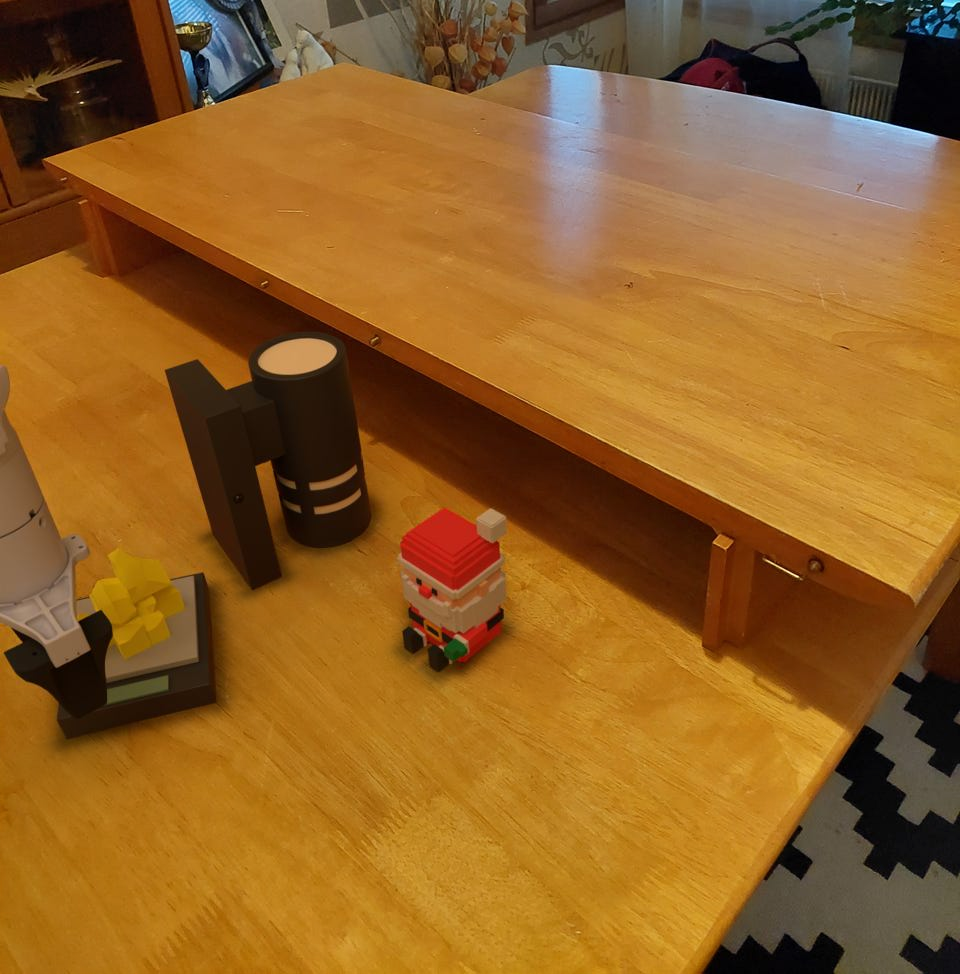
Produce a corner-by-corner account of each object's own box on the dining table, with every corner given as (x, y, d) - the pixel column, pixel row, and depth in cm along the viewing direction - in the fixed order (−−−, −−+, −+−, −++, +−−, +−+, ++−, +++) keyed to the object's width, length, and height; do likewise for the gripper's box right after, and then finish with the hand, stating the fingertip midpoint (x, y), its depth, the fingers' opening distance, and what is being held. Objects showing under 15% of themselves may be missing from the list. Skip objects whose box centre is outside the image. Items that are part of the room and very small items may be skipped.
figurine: (385, 635, 75) (367, 521, 68) (447, 589, 79) (436, 477, 72) (460, 689, 70) (449, 572, 63) (522, 637, 74) (518, 522, 67)
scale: (216, 703, 71) (208, 678, 69) (65, 739, 68) (53, 714, 67) (209, 590, 81) (201, 566, 79) (77, 619, 79) (67, 595, 77)
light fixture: (391, 529, 86) (367, 361, 75) (253, 592, 80) (206, 419, 69) (342, 479, 92) (314, 318, 82) (212, 534, 87) (163, 368, 76)
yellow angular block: (72, 630, 74) (39, 557, 69) (167, 584, 77) (142, 512, 73) (97, 673, 70) (64, 599, 65) (196, 623, 73) (172, 550, 69)
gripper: (109, 540, 50) (173, 705, 58) (18, 432, 59) (84, 588, 67) (-26, 605, 46) (62, 770, 54) (-102, 479, 55) (-16, 637, 63)
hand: (67, 674), depth 60 cm, fingers open, 7 cm apart
